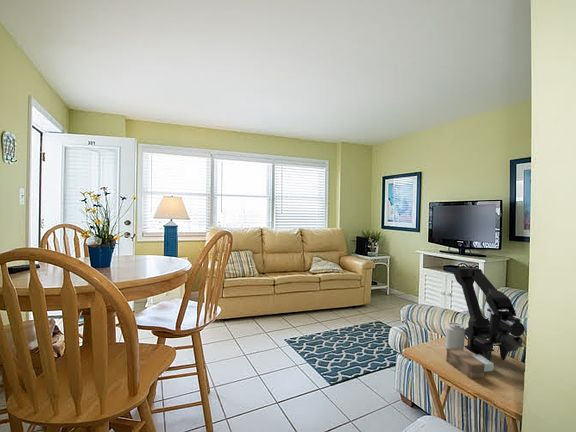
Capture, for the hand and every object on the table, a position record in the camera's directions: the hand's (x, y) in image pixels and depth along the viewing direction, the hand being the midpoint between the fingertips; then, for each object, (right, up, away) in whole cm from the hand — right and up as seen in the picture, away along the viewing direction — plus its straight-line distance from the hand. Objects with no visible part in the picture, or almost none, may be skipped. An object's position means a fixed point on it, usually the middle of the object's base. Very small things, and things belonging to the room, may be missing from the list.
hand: (495, 361), depth 129 cm
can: (-11, -1, +12) cm, 16 cm away
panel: (-10, -2, -2) cm, 11 cm away
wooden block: (-15, -1, -4) cm, 16 cm away
